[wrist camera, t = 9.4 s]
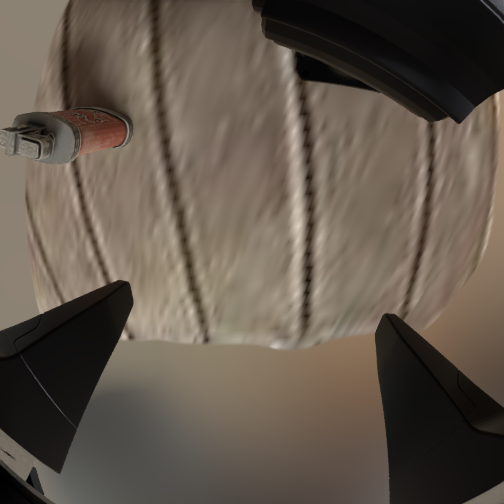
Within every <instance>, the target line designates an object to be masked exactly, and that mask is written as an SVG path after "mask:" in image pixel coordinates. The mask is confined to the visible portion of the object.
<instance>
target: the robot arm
mask: <svg viewBox="0 0 504 504" xmlns="http://www.w3.org/2000/svg"><path fill="white" fill-rule="evenodd" d="M252 6H253V9H254V10H255V11H256V12H258V13H261V17H262V24H261V25H262V32H263V34H264V36H265V37H266V38H267V39H270V40H273V41H274V42H275V43H276V44H278V45H281V46H284V47H287V48H289V49H292V52H293V53H294V54H295V55H299V65H298V75H299V78H300V79H302V80H304V81H312V82H321V83H328V84H335V85H342V86H348V87H353V88H359V89H364V90H369V91H373V92H378V93H383V94H384V95H386V96H388V97H389V98H391V99H392V100H394V101H395V102H397V103H399V104H400V105H402V106H403V107H405V108H406V109H407V110H409V111H410V112H412V113H413V114H415V115H417V116H418V117H422V118H424V119H425V120H427V121H428V122H434V121H440V120H444V119H446V118H448V117H450V118H451V119H453V120H454V121H455V122H456V123H457V124H460V123H461V122H462V121H463V120H464V119H465V118H466V117H467V116H468V115H469V114H470V113H471V112H472V110H473V109H474V108H475V107H476V106H478V105H479V104H480V103H482V102H483V101H484V100H486V99H487V98H488V97H490V96H491V95H493V94H495V93H497V92H499V91H501V90H503V89H504V0H252ZM304 71H306V72H308V73H309V76H308V77H305V76H303V75H302V72H304ZM132 307H133V296H132V291H131V286H130V283H129V282H128V281H123V280H117V281H115V282H113V283H110V284H108V285H106V286H103V287H101V288H99V289H96V290H94V291H92V292H90V293H87V294H85V295H83V296H80V297H78V298H76V299H74V300H71V301H69V302H67V303H65V304H62V305H60V306H58V307H56V308H53V309H51V310H49V311H47V312H45V313H43V314H40V315H38V316H36V317H34V318H32V319H29V320H27V321H24V322H22V323H19V324H17V325H14V326H12V327H9V328H7V329H4V330H1V331H0V504H55V503H53V502H52V501H51V500H49V499H48V498H46V497H45V496H44V493H43V490H42V487H41V484H40V481H39V478H38V474H37V471H36V468H35V467H33V465H34V463H35V461H36V459H38V460H39V461H40V462H42V463H43V464H45V465H46V466H48V467H49V468H51V469H52V470H54V471H55V472H57V473H58V474H60V473H61V470H62V468H63V465H64V462H65V459H66V456H67V454H68V451H69V448H70V446H71V443H72V441H73V438H74V436H75V433H76V431H77V428H78V426H79V423H80V421H81V418H82V416H83V413H84V411H85V409H86V407H87V405H88V402H89V400H90V398H91V396H92V394H93V391H94V389H95V387H96V385H97V383H98V381H99V379H100V376H101V374H102V372H103V370H104V368H105V366H106V364H107V362H108V360H109V358H110V356H111V354H112V352H113V350H114V348H115V346H116V344H117V343H118V340H119V338H120V336H121V334H122V331H123V329H124V326H125V324H126V321H127V319H128V316H129V314H130V312H131V309H132ZM375 343H376V355H377V369H378V378H379V384H380V391H381V397H382V404H383V411H384V419H385V428H386V437H387V448H388V462H389V478H390V479H389V491H390V504H504V407H502V406H501V405H500V404H499V403H497V402H496V401H495V400H494V399H493V398H491V397H490V396H489V395H488V394H486V393H485V392H484V391H483V390H481V389H480V388H479V387H478V386H476V385H475V384H474V383H473V382H472V381H471V380H470V379H468V378H467V377H466V376H465V375H464V374H463V373H462V372H461V371H460V370H458V369H457V368H456V367H455V366H454V365H453V364H452V363H451V362H450V361H449V360H448V359H446V358H445V357H444V356H443V355H442V354H441V353H440V352H439V351H438V350H436V349H435V348H434V347H433V346H432V345H431V344H429V343H428V342H427V341H426V340H425V339H424V338H423V337H421V336H420V335H419V334H418V333H417V332H416V331H414V330H413V329H412V328H411V327H410V326H409V325H407V324H406V323H405V322H404V321H403V320H401V319H400V318H399V317H398V316H397V315H395V314H389V313H385V314H384V315H383V316H382V318H381V320H380V323H379V325H378V327H377V329H376V332H375Z"/></svg>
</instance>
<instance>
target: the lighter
mask: <svg viewBox="0 0 504 504" xmlns="http://www.w3.org/2000/svg"><path fill="white" fill-rule="evenodd" d="M133 135H134V125H133V123H132V121H131V120H130V119H129V118H127V117H125V116H123V115H121V114H119V113H117V112H115V111H112V110H109V109H105V108H101V107H77V108H72V109H70V110H66V111H57V112H32V113H26V114H22V115H18V116H17V117H16V118H15V119H14V122H13V124H12V127H9V128H5V129H1V130H0V147H3V148H6V149H5V154H6V155H10V156H11V155H25V156H27V157H29V158H31V159H33V160H35V161H39V162H43V163H47V164H65V163H68V162H71V161H73V160H74V159H75V158H76V157H77V156H81V155H84V154H88V153H91V152H95V151H98V150H102V149H106V148H120V147H124V146H126V145H128V144H129V143H130V141H131V140H132V137H133Z"/></svg>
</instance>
